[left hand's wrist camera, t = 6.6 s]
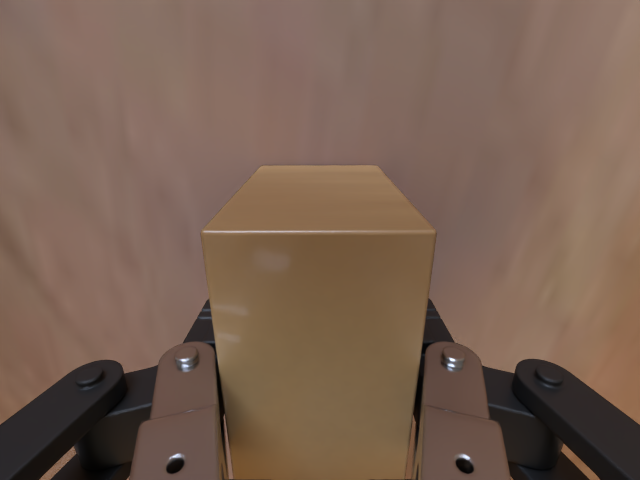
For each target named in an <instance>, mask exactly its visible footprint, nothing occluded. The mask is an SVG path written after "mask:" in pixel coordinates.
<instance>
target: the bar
mask: <svg viewBox="0 0 640 480" xmlns="http://www.w3.org/2000/svg"><path fill="white" fill-rule="evenodd" d="M436 235H437V233H436V230H435V229H434V228H433V227H432V226H431V224H430V223H429V222H428V221H427V220H426V219H425V218H424V217H423V216H422V214H421V213H420V212H419V211H418V210H417V209H416V208H415V207H414V206H413V205H412V203H411V202H410V201H409V200H408V199H407V198H406V197H405V196H404V195H403V193H402V192H401V191H400V190H399V189H398V188H397V187H396V186H395V185H394V184H393V182H392V181H391V180H390V179H389V178H388V177H387V176H386V175H385V174H384V173H383V171H382V170H381V169H380V168H379V167H378V166H376V165H323V166H260V167H259V169H258V170H257V171H256V172H255V173H254V174H253V175H252V176H251V177H250V178H249V179H248V180H247V182H246V183H245V184H244V185H243V186H242V187H241V188H240V189H239V190H238V191H237V192H236V194H235V195H234V196H233V197H232V198H231V199H230V200H229V201H228V202H227V203H226V204H225V205H224V207H223V208H222V209H221V210H220V211H219V212H218V213H217V214H216V215H215V216H214V217H213V219H212V220H211V221H210V222H209V223H208V224H207V225H206V226H205V227H204V228H203V229H202V230H201V241H202V248H203V256H204V263H205V271H206V278H207V285H208V293H209V300H210V308H211V315H212V323H213V330H214V337H215V345H216V352H217V360H218V367H219V374H220V382H221V389H222V397H223V404H224V411H225V419H226V426H227V434H228V441H229V449H230V456H231V463H232V471H233V478H234V479H271V480H369V479H405V474H406V466H407V459H408V451H409V443H410V436H411V428H412V420H413V412H414V405H415V397H416V389H417V382H418V374H419V366H420V358H421V351H422V343H423V335H424V328H425V320H426V312H427V305H428V297H429V289H430V281H431V274H432V266H433V258H434V251H435V243H436Z"/></svg>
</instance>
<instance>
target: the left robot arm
mask: <svg viewBox="0 0 640 480" xmlns="http://www.w3.org/2000/svg"><path fill="white" fill-rule="evenodd" d="M224 414H225V411H224V404H223V397H222V389H221V382H220V374H219V367H218V360H217V352H216V345H215V337H214V330H213V323H212V315H211V308H210V300H209V299H208V300H207V301H206V303H205V305H204V307H203V308H202V312H200V314H199V315H198V317H197V319H196V321H195V322H194V324H193V326H192V328H191V330H190V331H189V333H188V335H187V337H186V338H185V340H184V342H183V344H180V345H177V346H175V347H173V348H171V349H170V350H168V351H167V352H166V353H165V354H164V355H163V356H162V357H161V359H160V360H159V364H158V365H157V366H154V367H151V368H147V369H143V370H139V371H134V372H129V373H125V374H124V371H123V368H122V365H121V364H120V363H118V362H116V361H113V360H100V361H95V362H91V363H88V364H85V365H83V366H81V367H78V368H77V369H75V370H73V371H72V372H70V373H69V374H67V375H66V376H65V377H63V378H62V379H61V380H59V381H58V382H57V383H55V384H54V385H53V386H51V387H50V388H49V389H47V390H46V391H45V392H43V393H42V394H41V395H39V396H38V397H37V398H35V399H34V400H33V401H31V402H30V403H29V404H27V405H26V406H25V407H23V408H22V409H21V410H19V411H18V412H17V413H15V414H14V415H13V416H12V417H10V418H9V419H8V420H6V421H5V422H4V423H2V424H1V425H0V480H39V479H40V478H41V477H42V476H43V475H44V474H45V473H46V472H47V471H48V470H49V469H50V468H51V467H52V466H53V465H54V464H55V463H56V462H57V461H58V460H59V459H60V458H61V457H62V456H63V455H64V454H66V453H67V452H68V451H69V450H70V449H71V448H72V447H73V446H74V448H75V451H76V453H77V454H76V455H75V456H74V457H73V458H72V459H71V460H70V461H69V462H68V463H67V464H66V465H65V466H64V467H63V468H62V469H61V470H60V471H59V472H57V473H56V474H55V475H54V476H53V477H52V478H51V479H50V480H126V479H127V478H128V477H129V476H130V477H129V480H271V479H229V475H228V462H227V448H226V435H225V425H224V418H223V417H224ZM413 415H414V418H415V421H416V425H415V435H414V448H413V461H412V475H411V479H369V480H511V477H512V478H513V479H514V480H590V479H589V478H588V477H587V476H586V475H584V474H583V473H582V472H581V471H580V470H579V469H578V468H577V467H576V466H575V465H574V464H573V463H572V462H571V461H570V460H569V459H568V458H567V457H566V456H565V455H564V454H563V453H562V452H561V449H562V446H563V444H565V445H566V446H567V447H568V448H569V449H570V450H571V451H572V452H573V453H574V454H576V455H577V456H578V457H579V458H580V459H581V460H582V461H583V462H584V463H585V464H586V465H587V466H588V467H589V468H590V469H591V470H592V471H593V472H594V473H595V474H596V475H597V476H598V477H599V479H600V480H640V425H639V424H638V423H636V422H635V421H634V420H632V419H631V418H630V417H628V416H627V415H626V414H624V413H623V412H622V411H621V410H619V409H618V408H617V407H615V406H614V405H613V404H611V403H610V402H609V401H607V400H606V399H605V398H603V397H602V396H601V395H599V394H598V393H597V392H595V391H594V390H593V389H591V388H590V387H589V386H587V385H586V384H585V383H583V382H582V381H581V380H579V379H578V378H577V377H575V376H574V375H573V374H571V373H570V372H569V371H567V370H566V369H564V368H562V367H560V366H558V365H556V364H553V363H551V362H548V361H544V360H539V359H526V360H523V361H521V362H519V363H518V364H517V366H516V369H515V373H510V372H506V371H501V370H497V369H492V368H488V367H485V366H482V364H481V360H480V359H479V357H478V356H477V355H476V354H475V353H474V352H473V351H472V350H470V349H469V348H467V347H465V346H463V345H460V344H457V343H455V342H454V340H453V339H452V337H451V335H450V333H449V331H448V330H447V328H446V326H445V324H444V323H443V321H442V319H440V315H439V314H438V312H437V311H436V308H435V306H434V305H433V303H432V301H431V300H430V299H429V298H428V305H427V312H426V320H425V328H424V335H423V343H422V351H421V358H420V366H419V374H418V382H417V389H416V397H415V405H414V412H413ZM510 476H511V477H510Z"/></svg>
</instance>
